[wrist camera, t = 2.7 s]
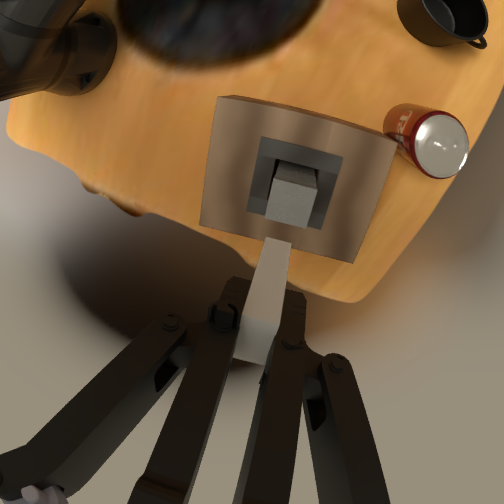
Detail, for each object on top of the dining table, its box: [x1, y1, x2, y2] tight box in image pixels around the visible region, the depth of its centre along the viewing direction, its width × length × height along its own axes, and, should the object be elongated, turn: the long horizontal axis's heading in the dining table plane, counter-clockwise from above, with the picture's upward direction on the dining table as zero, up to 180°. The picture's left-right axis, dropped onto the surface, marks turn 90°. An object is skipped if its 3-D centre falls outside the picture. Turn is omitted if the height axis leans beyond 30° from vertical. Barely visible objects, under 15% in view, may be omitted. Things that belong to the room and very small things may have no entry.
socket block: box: [199, 95, 398, 264], centre depth 36 cm, size 20×16×8 cm
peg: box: [265, 160, 318, 229], centre depth 31 cm, size 4×4×8 cm
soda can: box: [383, 103, 469, 179], centre depth 28 cm, size 7×7×12 cm
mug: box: [397, 0, 488, 49], centre depth 20 cm, size 9×12×9 cm
